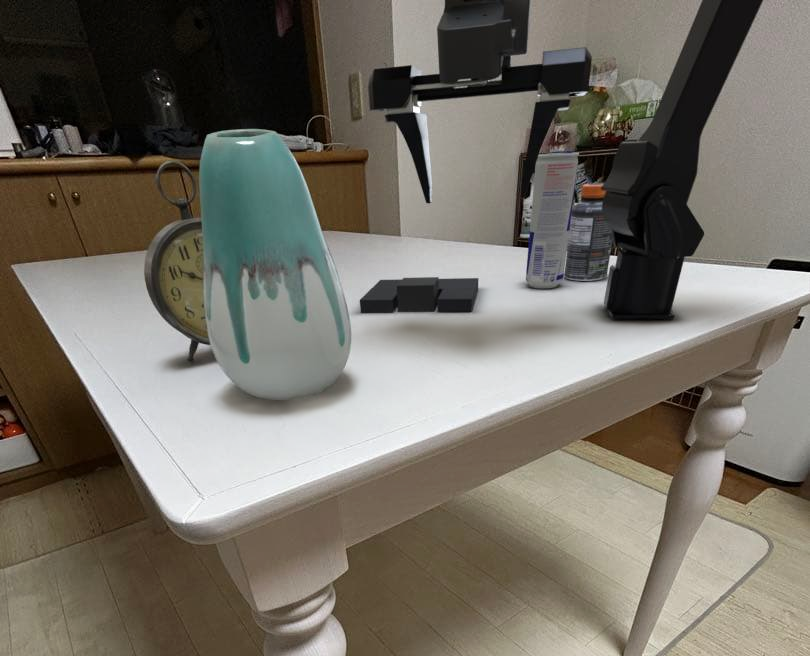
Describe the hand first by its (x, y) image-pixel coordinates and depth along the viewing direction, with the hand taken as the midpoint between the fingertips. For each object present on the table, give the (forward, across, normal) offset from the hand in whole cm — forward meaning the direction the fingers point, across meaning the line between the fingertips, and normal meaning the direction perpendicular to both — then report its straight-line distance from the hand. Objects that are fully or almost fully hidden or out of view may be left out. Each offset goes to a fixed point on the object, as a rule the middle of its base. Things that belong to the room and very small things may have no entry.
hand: (474, 200), depth 50 cm
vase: (+12, -14, -19) cm, 27 cm away
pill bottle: (+12, +14, +26) cm, 32 cm away
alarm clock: (+12, -25, -10) cm, 29 cm away
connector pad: (+12, -8, +9) cm, 17 cm away
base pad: (+12, -8, +12) cm, 19 cm away
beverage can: (+12, +8, +20) cm, 25 cm away
